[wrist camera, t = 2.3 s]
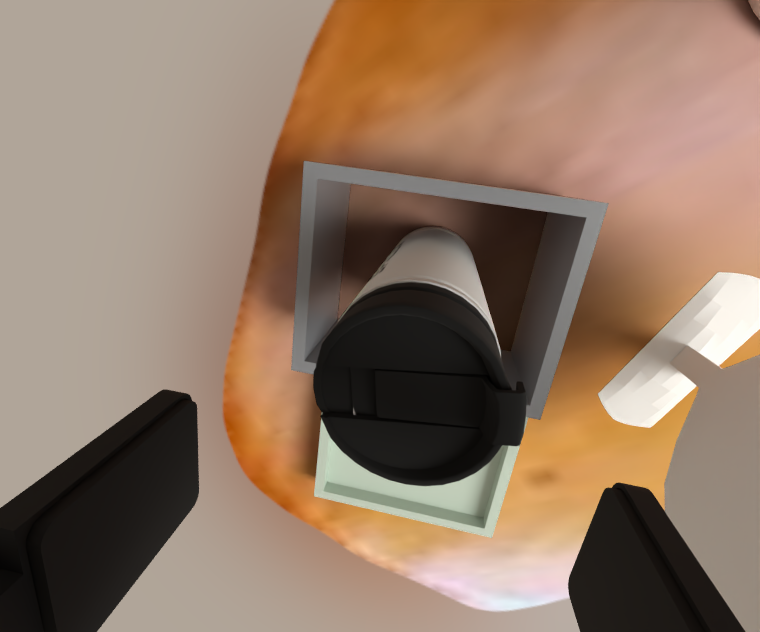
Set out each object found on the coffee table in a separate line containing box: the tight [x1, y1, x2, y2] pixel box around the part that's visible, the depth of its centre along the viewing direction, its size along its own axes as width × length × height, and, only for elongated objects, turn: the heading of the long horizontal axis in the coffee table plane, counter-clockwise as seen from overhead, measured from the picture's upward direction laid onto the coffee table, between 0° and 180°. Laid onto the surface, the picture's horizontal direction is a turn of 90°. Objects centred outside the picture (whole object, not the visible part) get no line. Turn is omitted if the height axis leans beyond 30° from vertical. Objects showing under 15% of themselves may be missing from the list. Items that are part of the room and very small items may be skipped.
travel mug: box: [313, 226, 527, 486], centre depth 21 cm, size 6×7×20 cm
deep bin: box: [291, 161, 609, 420], centre depth 26 cm, size 13×16×8 cm
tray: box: [314, 417, 528, 538], centre depth 34 cm, size 14×16×2 cm
